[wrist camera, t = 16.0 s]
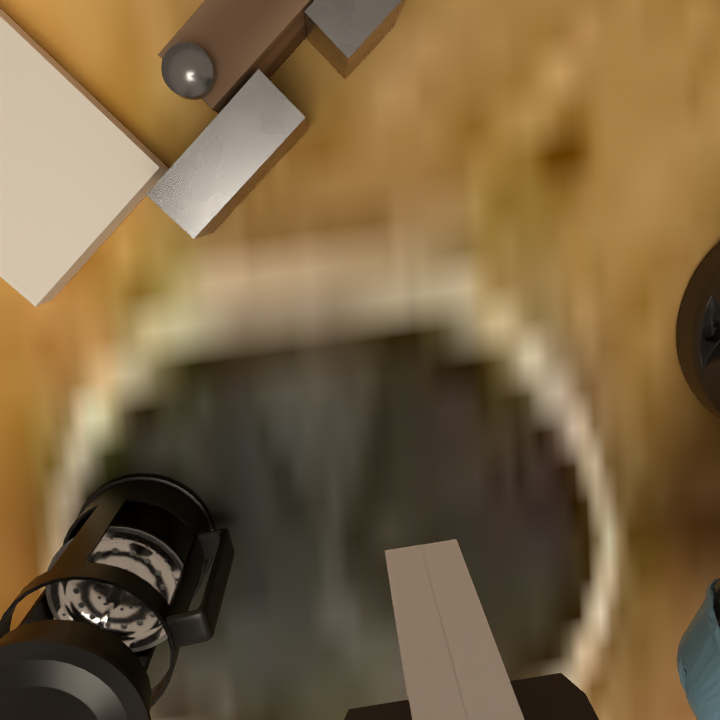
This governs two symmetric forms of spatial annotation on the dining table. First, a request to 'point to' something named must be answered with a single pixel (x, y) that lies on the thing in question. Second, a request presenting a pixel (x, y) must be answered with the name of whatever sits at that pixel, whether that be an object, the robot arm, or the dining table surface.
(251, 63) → the bar
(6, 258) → the table-top board
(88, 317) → the dining table surface
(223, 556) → the french press
